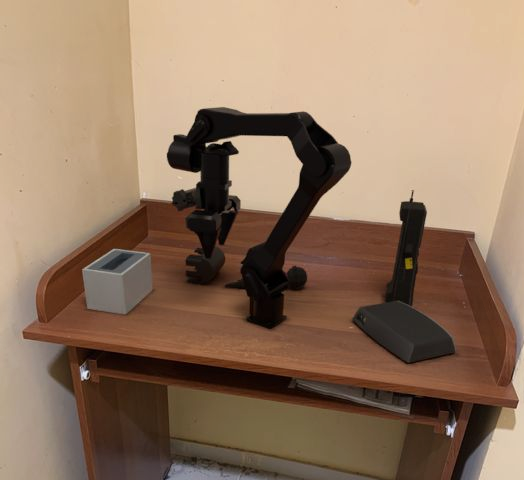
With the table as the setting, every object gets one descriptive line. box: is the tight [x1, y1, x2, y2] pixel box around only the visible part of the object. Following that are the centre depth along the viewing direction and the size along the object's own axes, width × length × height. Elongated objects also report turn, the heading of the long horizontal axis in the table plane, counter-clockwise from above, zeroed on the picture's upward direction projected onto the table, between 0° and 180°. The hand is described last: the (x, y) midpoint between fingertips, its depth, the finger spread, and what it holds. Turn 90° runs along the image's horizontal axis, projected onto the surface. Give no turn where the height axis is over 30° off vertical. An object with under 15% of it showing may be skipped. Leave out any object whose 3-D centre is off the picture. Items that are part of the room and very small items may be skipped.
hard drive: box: [352, 301, 457, 363], centre depth 106 cm, size 13×19×4 cm
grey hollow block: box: [81, 248, 154, 315], centre depth 115 cm, size 9×14×9 cm
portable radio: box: [384, 189, 428, 307], centre depth 116 cm, size 8×6×25 cm
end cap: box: [185, 246, 226, 285], centre depth 129 cm, size 10×7×7 cm
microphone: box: [224, 265, 308, 291], centre depth 125 cm, size 6×6×20 cm
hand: (214, 251), depth 112 cm, fingers open, 9 cm apart
